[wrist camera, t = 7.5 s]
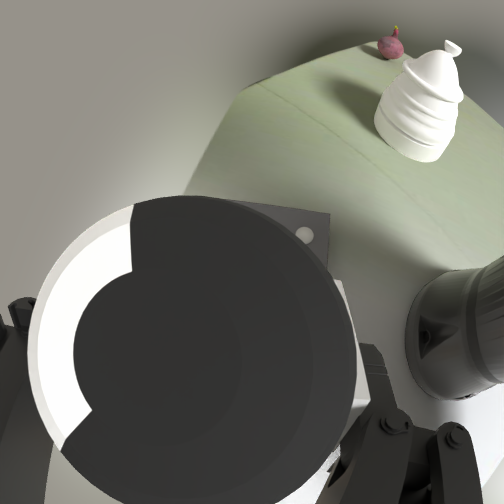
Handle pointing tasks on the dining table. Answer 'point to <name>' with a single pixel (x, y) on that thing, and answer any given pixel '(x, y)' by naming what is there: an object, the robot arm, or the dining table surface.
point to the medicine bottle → (192, 355)
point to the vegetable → (390, 46)
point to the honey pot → (421, 105)
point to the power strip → (300, 225)
